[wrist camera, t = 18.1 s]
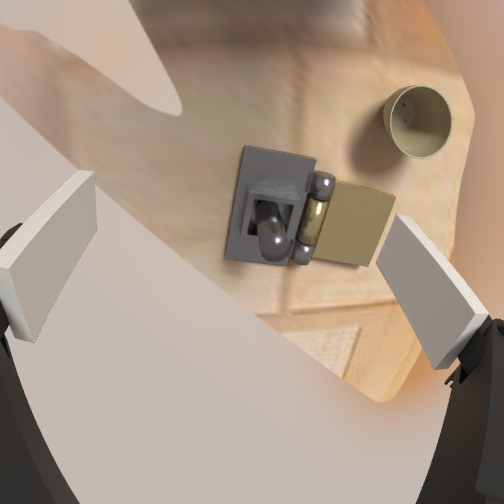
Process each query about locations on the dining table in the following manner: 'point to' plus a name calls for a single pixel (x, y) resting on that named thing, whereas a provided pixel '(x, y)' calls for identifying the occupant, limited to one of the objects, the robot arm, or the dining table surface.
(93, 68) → the dining table surface
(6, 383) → the robot arm
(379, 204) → the brass leaf
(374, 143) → the dining table surface
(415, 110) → the flower pot
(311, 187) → the hinge base
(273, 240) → the pin
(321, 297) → the dining table surface
